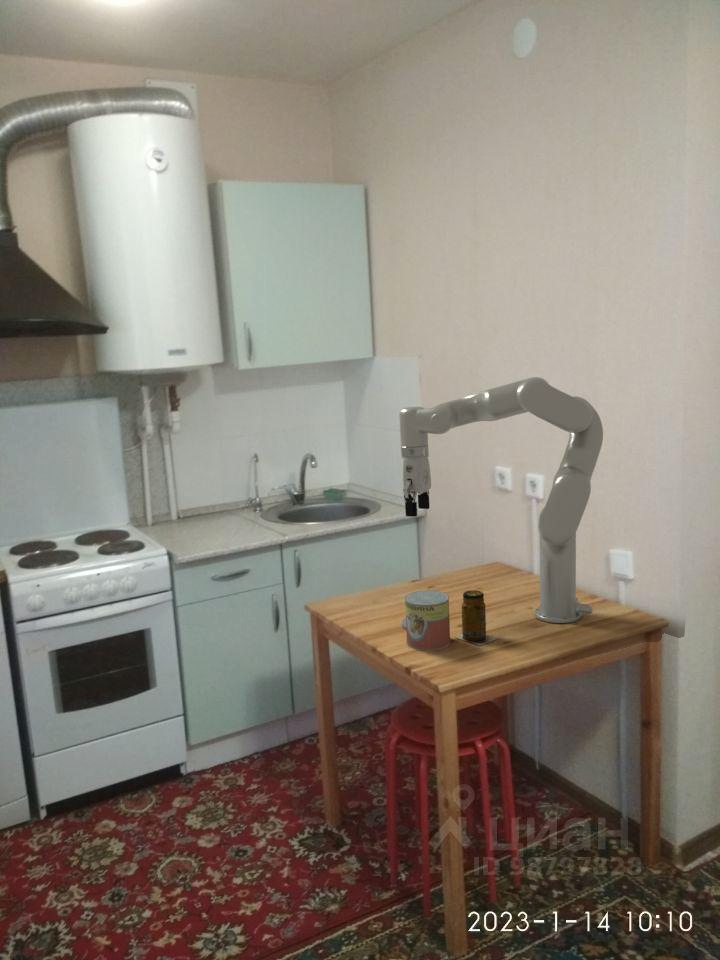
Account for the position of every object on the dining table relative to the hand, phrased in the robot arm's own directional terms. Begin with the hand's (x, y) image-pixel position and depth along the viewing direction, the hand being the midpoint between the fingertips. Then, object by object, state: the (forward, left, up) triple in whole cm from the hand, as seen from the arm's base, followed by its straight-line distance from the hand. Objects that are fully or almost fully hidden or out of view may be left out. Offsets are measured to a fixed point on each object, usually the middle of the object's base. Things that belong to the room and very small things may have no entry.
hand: (417, 512), depth 221 cm
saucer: (-3, +11, -29) cm, 31 cm away
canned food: (-9, +22, -29) cm, 38 cm away
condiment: (-20, +16, -29) cm, 39 cm away
